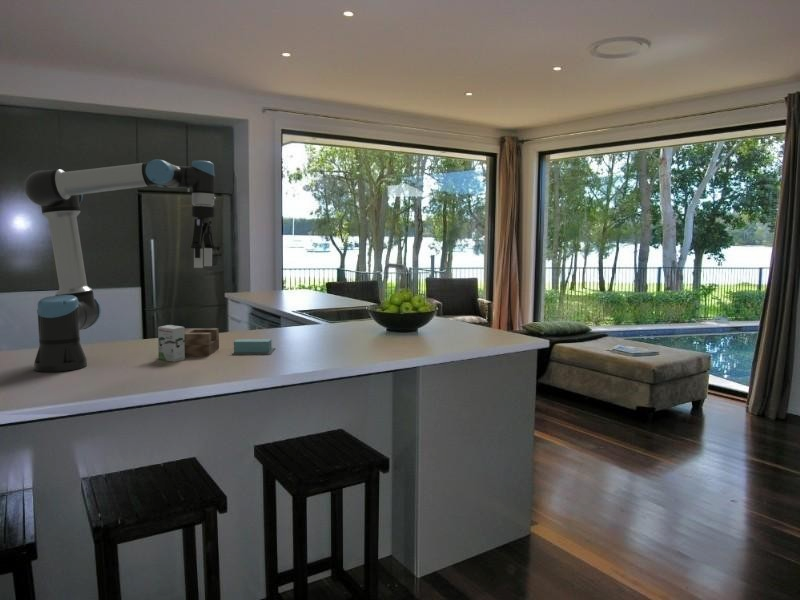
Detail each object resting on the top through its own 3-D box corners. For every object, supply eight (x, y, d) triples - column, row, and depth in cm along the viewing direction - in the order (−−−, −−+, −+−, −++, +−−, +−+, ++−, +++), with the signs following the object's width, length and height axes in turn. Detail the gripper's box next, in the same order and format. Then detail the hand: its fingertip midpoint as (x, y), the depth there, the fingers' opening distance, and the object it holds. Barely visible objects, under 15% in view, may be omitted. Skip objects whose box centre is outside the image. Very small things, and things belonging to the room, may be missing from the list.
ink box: (157, 359, 213) (156, 326, 212) (169, 357, 217) (168, 324, 216) (174, 361, 209) (173, 328, 208) (185, 359, 213) (185, 326, 212)
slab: (233, 352, 225) (233, 341, 224) (237, 349, 231) (237, 339, 230) (269, 352, 225) (268, 341, 225) (271, 349, 231) (271, 339, 231)
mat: (232, 354, 222) (232, 353, 222) (239, 349, 234) (239, 348, 234) (270, 354, 222) (270, 353, 222) (275, 348, 234) (275, 347, 234)
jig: (164, 355, 219) (163, 334, 218) (177, 348, 234) (176, 328, 233) (209, 355, 220) (208, 334, 219) (219, 348, 235) (218, 328, 234)
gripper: (205, 204, 198) (205, 268, 200) (222, 208, 223) (222, 265, 224) (182, 203, 197) (182, 268, 199) (201, 207, 222) (201, 265, 224)
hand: (203, 267), depth 212 cm, fingers open, 13 cm apart
